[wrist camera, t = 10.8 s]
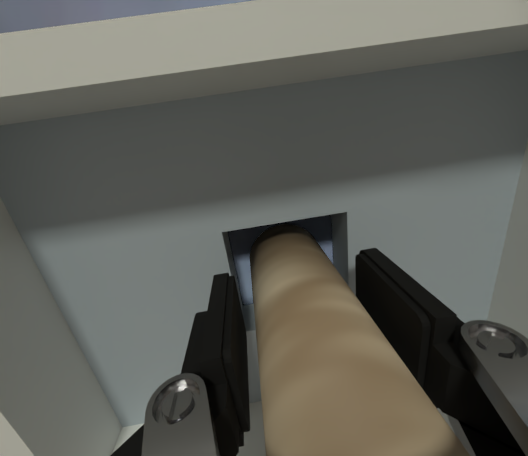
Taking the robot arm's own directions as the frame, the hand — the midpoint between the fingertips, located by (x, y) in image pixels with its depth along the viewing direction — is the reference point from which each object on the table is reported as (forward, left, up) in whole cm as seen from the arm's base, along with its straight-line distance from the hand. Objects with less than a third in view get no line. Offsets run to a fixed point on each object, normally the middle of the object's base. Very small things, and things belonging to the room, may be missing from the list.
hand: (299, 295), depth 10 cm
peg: (0, 0, -3) cm, 3 cm away
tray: (0, 0, -3) cm, 3 cm away
